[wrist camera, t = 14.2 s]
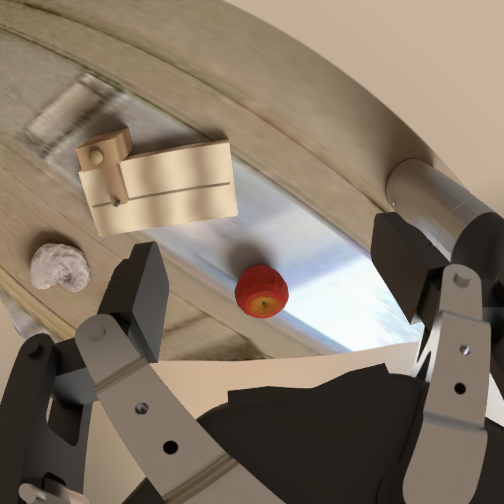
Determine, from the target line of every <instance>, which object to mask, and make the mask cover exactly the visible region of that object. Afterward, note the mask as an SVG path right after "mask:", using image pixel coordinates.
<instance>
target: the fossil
mask: <svg viewBox="0 0 504 504" xmlns="http://www.w3.org/2000/svg"><path fill="white" fill-rule="evenodd" d="M29 276H30V279H31V282H32V284H33V286H34V287H37V288H38V289H47V288H49V287H50V286H51V285H55V284H57V285H58V286H60V287H61V288H63V289H65V290H68V291H72V292H76V291H80V290H82V289H84V288H85V287H86V286H87V284H88V282H89V280H90V268H89V266H88V265H87V263H86V259H85V258H84V257H83V253H82V252H81V251H80V250H78V249H77V248H75V247H72V246H67V245H65V244H51V243H48V244H44V245H43V246H41V247H40V248H39V249H38V250H37V251H36V252H35V254H34V256H33V258H32V260H31V263H30V269H29Z"/></svg>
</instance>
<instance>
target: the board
mask: <svg viewBox="0 0 504 504" xmlns="http://www.w3.org/2000/svg"><path fill="white" fill-rule="evenodd" d="M120 167H121V171H122V175H123V179H124V183H125V186H126V190H127V194H128V197H129V200H128V202H127V203H126V204H122V205H119V206H118V207H115V206H112V203H111V200H110V196H109V193H108V190H107V186H106V183H105V179H104V176H103V172H102V169H101V168H98V169H94V170H91V171H87V172H82V169H81V170H80V171H79V176H80V179H81V182H82V186H83V189H84V192H85V195H86V198H87V202H88V205H89V208H90V211H91V214H92V217H93V219H94V222H95V225H96V228H97V231H98V233H99V236H100V237H101V236H107V235H113V234H119V233H125V232H131V231H137V230H143V229H149V228H156V227H162V226H169V225H175V224H182V223H189V222H195V221H202V220H210V219H217V218H224V217H232V216H238V211H237V203H236V195H235V187H234V179H233V171H232V162H231V154H230V146H229V139H225V140H217V141H210V142H203V143H197V144H191V145H184V146H179V147H173V148H167V149H162V150H157V151H152V152H147V153H142V154H137V155H132V156H128V157H125V158H124V160H123V161H122V162H121V163H120Z"/></svg>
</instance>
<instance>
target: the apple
mask: <svg viewBox="0 0 504 504" xmlns="http://www.w3.org/2000/svg"><path fill="white" fill-rule="evenodd" d="M288 297H289V293H288V287H287V284H286V282H285V281H284V279H283V278H282V276H281V275H280V274H279V273H278V272H277V271H276V270H274V269H272V268H271V267H269V266H267V265H260V264H259V265H254V266H252V267H250V268H248V269H247V270H246V271H245V272H244V273H243V274H242V275H241V276H240V277H239V280H238V282H237V285H236V288H235V298H236V302H237V304H238V306H239V307H240V308H241V309H242V310H243V311H244V312H245V313H246V314H247V315H250V316H252V317H256V318H268V317H272V316H273V315H275V314H277V313H279V312H280V311H281V310H282V309H283V308H284V307H285V305H286V303H287V301H288Z"/></svg>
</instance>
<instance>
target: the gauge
mask: <svg viewBox="0 0 504 504" xmlns="http://www.w3.org/2000/svg"><path fill="white" fill-rule="evenodd" d="M132 150H133V147H132V142H131V137H130V133H129V128H124V129H120V130H116V131H112V132H108V133H104V134H101V135H97V136H94V137H92V138H91V139H89V140H88V141H87V142H85V143H84V144H82V145H81V146H79V147H78V148H77V149H76V151H77V155H78V158H79V162H80V165H81V169H82V172H87V171H91V170H94V169H98V168H101V169H102V172H103V176H104V179H105V183H106V186H107V190H108V193H109V196H110V200H111V203H112V206H115V207H118V206H119V205H122V204H126V203H127V202H128V200H129V197H128V194H127V190H126V186H125V183H124V179H123V175H122V171H121V167H120V163H121V162H122V161H123V160H124V158H125V157H126V156H127V155H128V154H129V153H130V152H131V151H132Z"/></svg>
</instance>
